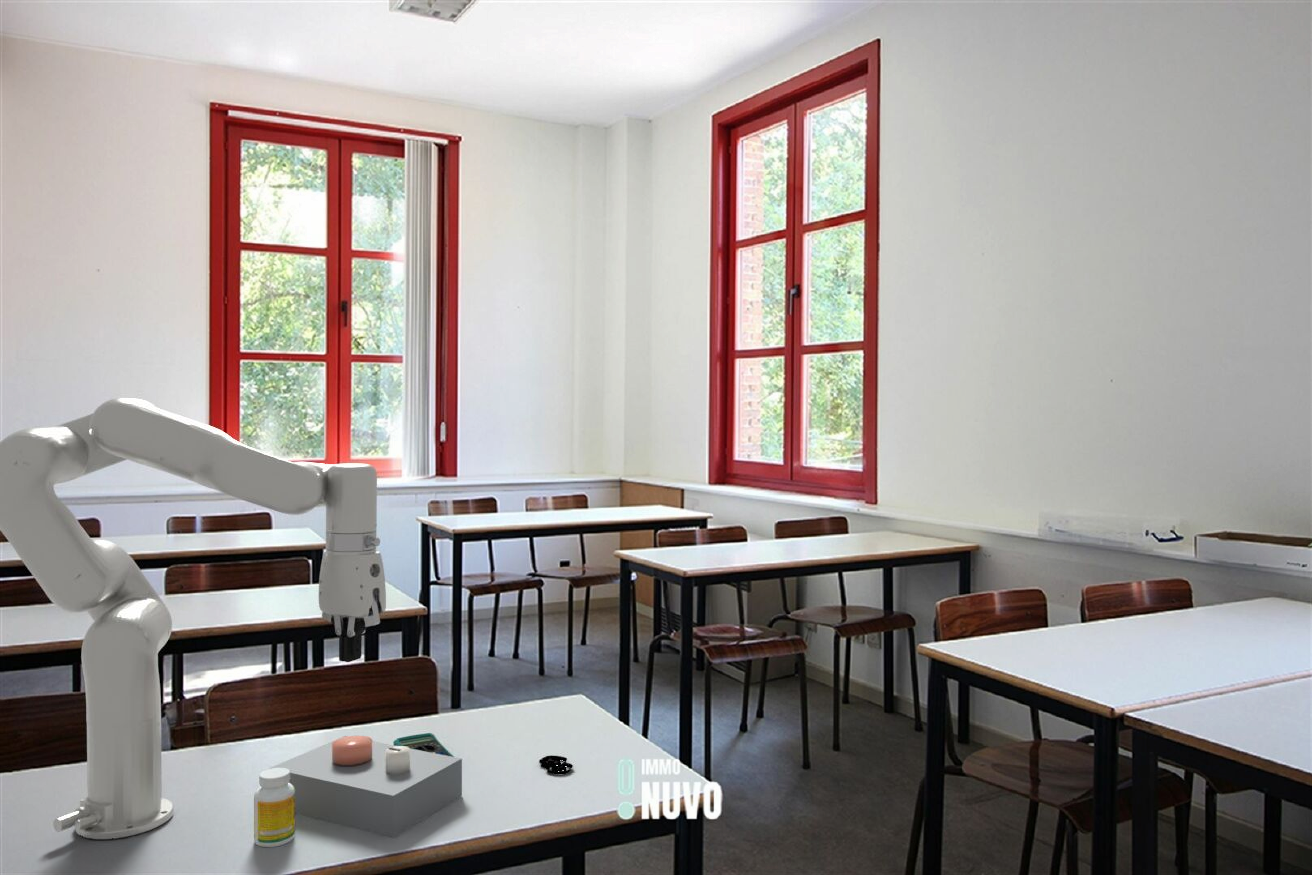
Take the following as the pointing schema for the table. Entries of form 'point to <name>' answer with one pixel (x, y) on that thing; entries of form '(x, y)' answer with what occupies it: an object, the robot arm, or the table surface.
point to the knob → (397, 759)
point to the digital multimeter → (423, 743)
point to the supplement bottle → (274, 808)
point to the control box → (373, 788)
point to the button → (352, 750)
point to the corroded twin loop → (553, 764)
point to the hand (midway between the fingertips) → (350, 659)
